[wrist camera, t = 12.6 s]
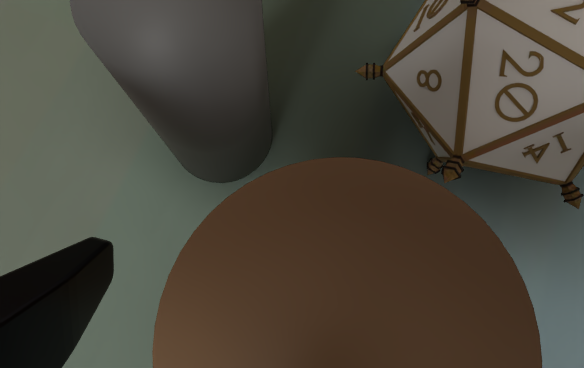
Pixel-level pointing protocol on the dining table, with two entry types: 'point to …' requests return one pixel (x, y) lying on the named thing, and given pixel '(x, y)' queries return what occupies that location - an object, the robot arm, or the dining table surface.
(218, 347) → the walnut pawn
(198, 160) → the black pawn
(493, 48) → the grey faceted polyhedron
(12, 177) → the dining table surface
